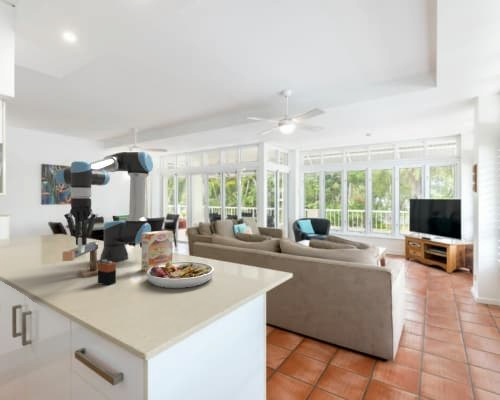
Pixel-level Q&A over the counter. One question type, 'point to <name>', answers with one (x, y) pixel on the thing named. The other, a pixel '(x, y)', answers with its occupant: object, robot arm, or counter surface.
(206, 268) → the bowl
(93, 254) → the arm post
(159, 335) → the counter surface
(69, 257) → the swing arm
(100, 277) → the battery
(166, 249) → the coffeecake box
